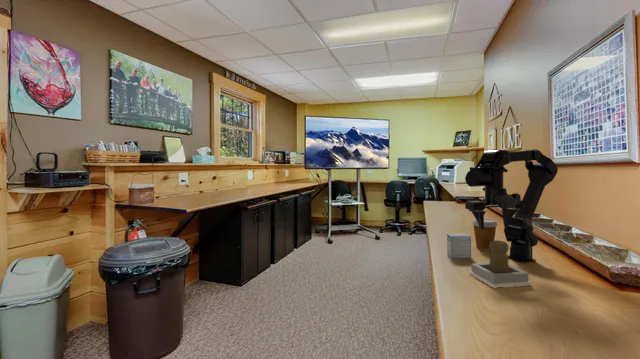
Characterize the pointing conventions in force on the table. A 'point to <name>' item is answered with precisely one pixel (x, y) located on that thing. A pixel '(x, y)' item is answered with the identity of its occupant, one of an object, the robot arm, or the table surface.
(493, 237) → the disposable coffee cup
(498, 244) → the cork
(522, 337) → the table surface
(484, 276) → the socket plate
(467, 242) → the medicine box
